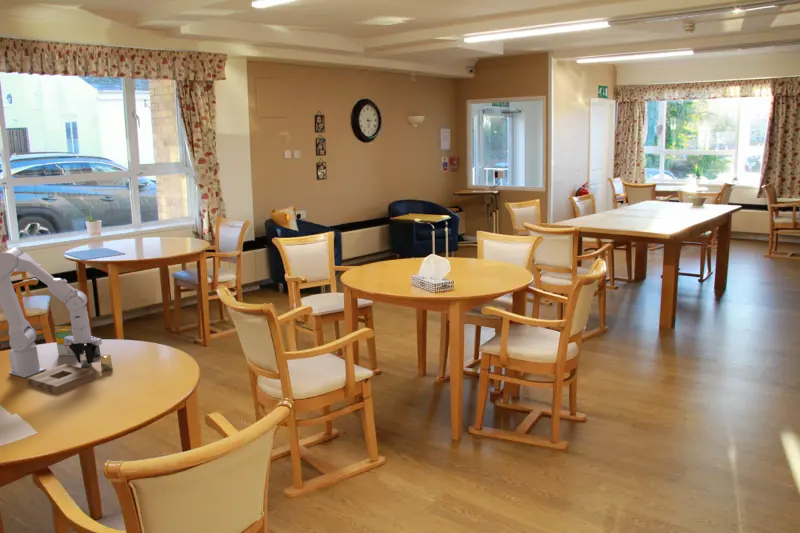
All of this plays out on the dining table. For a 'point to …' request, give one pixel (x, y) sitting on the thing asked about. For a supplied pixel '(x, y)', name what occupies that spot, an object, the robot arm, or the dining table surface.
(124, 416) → the dining table surface
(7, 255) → the robot arm
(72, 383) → the socket board
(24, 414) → the dining table surface
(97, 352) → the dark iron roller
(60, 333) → the crayon box
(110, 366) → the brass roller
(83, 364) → the steel roller
